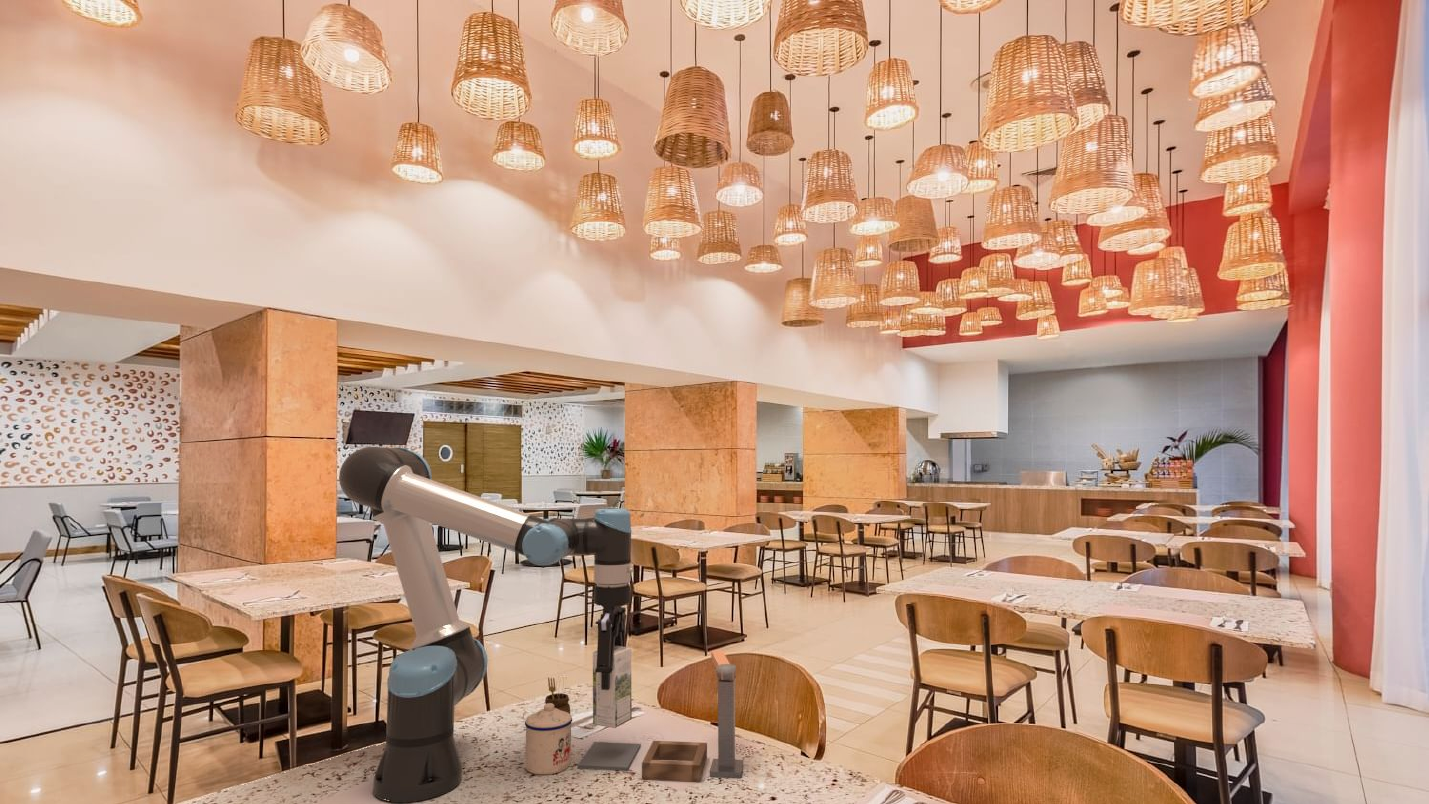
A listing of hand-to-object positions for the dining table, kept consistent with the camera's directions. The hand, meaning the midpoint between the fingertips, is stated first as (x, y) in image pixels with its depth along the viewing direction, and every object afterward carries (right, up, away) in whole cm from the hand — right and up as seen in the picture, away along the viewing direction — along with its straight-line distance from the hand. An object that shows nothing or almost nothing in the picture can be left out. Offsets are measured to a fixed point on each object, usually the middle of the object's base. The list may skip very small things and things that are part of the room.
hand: (611, 698), depth 144 cm
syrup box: (0, -5, 0) cm, 5 cm away
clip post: (+23, -11, -8) cm, 27 cm away
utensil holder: (-15, -13, +14) cm, 24 cm away
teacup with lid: (-11, -11, -4) cm, 17 cm away
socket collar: (+13, -11, -7) cm, 18 cm away
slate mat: (0, -11, -1) cm, 11 cm away
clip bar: (+23, +6, 0) cm, 23 cm away
